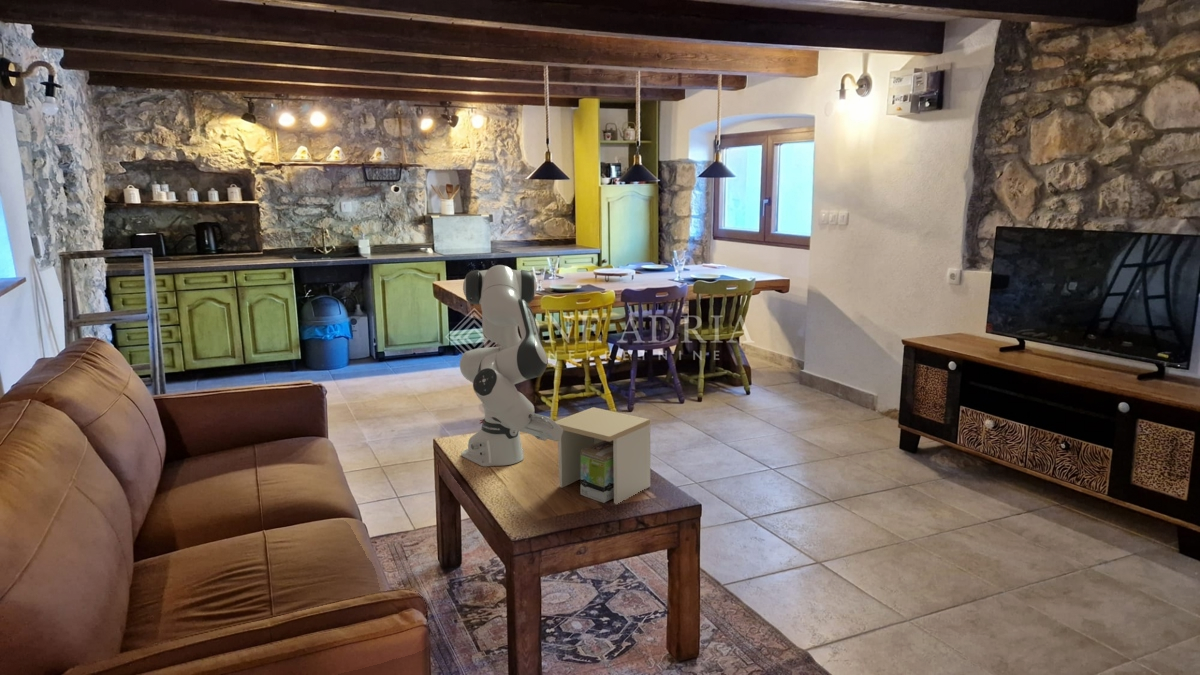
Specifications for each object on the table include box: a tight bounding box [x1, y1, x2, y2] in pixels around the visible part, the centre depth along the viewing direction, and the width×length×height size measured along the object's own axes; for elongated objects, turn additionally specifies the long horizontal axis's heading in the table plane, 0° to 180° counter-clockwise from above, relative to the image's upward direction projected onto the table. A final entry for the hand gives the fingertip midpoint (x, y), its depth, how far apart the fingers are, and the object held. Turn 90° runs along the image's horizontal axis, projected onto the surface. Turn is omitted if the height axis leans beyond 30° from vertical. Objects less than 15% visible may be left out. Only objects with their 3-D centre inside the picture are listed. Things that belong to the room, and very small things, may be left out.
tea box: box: [579, 440, 614, 504], centre depth 229 cm, size 15×10×15 cm, turn 139°
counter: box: [554, 406, 651, 505], centre depth 231 cm, size 22×20×22 cm
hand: (543, 437), depth 209 cm, fingers closed
